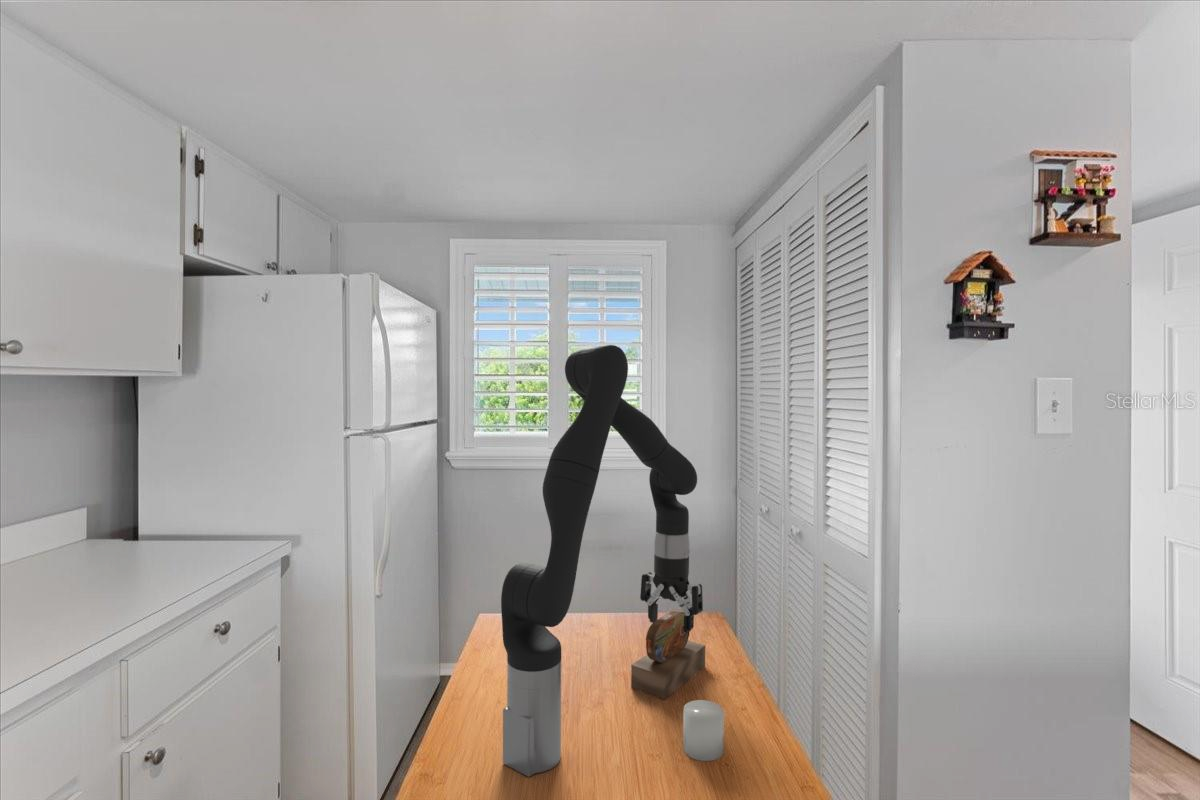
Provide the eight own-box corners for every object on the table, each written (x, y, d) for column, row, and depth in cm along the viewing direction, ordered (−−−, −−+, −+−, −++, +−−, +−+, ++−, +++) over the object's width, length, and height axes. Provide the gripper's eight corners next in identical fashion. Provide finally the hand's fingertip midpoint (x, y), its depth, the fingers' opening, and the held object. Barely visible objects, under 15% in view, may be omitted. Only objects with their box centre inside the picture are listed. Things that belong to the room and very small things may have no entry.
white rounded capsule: (712, 766, 106) (713, 725, 106) (676, 751, 110) (676, 712, 110) (729, 746, 112) (730, 707, 111) (694, 733, 116) (694, 696, 115)
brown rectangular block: (663, 700, 127) (664, 676, 127) (631, 688, 132) (631, 664, 132) (704, 667, 142) (705, 645, 141) (674, 657, 146) (674, 636, 146)
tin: (655, 669, 130) (656, 629, 129) (642, 664, 132) (643, 625, 131) (691, 644, 142) (691, 607, 141) (678, 640, 144) (679, 604, 143)
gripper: (634, 550, 137) (633, 623, 137) (692, 562, 128) (691, 640, 129) (653, 543, 143) (651, 613, 143) (709, 554, 134) (707, 629, 135)
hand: (670, 626), depth 136 cm, fingers open, 8 cm apart
